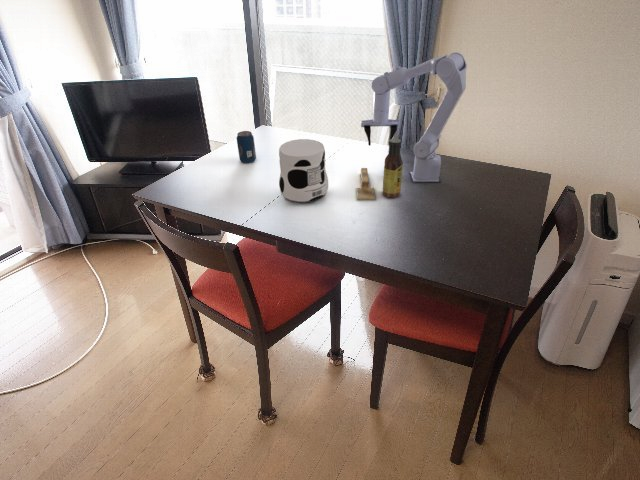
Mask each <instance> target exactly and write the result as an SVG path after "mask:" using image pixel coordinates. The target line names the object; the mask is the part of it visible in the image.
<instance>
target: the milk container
mask: <svg viewBox="0 0 640 480" xmlns="http://www.w3.org/2000/svg"><path fill="white" fill-rule="evenodd" d="M278 156H279V168H280V173H279V178H278V179H279V180H278V186H279V190H280V193H281V195H282V197H283V198H285V199H286V200H288V201H290V202H293V203H299V204H300V203H301V204H302V203H305V204H306V203H313V202H316V201H318V200H320V199H322V198H323V197H325V195H326V194H327V192H328V188H329V178H328V174H327V169H326V151H325V146H324V144H323V143H322V142H320V141H319V140H315V139H309V138H299V139H292V140H289V141H285V142H284V143H282V144H281V145H280V146H279V149H278Z"/></svg>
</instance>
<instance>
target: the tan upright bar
mask: <svg viewBox="0 0 640 480" xmlns="http://www.w3.org/2000/svg"><path fill="white" fill-rule="evenodd" d="M369 181H370V180H369V172H368V167H361V168H360V182H361V187H357V188H356V194H357V195H356V196H357V201H375V200H376V195H375V188H374V187H370V182H369Z"/></svg>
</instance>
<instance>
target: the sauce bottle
mask: <svg viewBox="0 0 640 480" xmlns="http://www.w3.org/2000/svg"><path fill="white" fill-rule="evenodd" d="M401 145H402V140H401V139H400V138H392V139H390V140H389V144H388V151H387V152H388V153H387V155H386V157H385V159H384V166H383V176H382V177H383V178H382V179H383V180H382V194H383V196H384V197H385V198H391V199H394V198H398V197H399V196H400V194H401V190H402V179H403V178H402V176H403V167H404V162H403V158H402V155H401Z"/></svg>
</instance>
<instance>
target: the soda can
mask: <svg viewBox="0 0 640 480" xmlns="http://www.w3.org/2000/svg"><path fill="white" fill-rule="evenodd" d="M236 135H237V136H236V144H237V152H238V159H239V161H240V162H241V163H242V164H245V165H247V164H252V163H255V161H256V159H257V153H256V145H255V137H254V135H253V133H252V131H249V130H242V131H239V132H238V133H237V134H236Z"/></svg>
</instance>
